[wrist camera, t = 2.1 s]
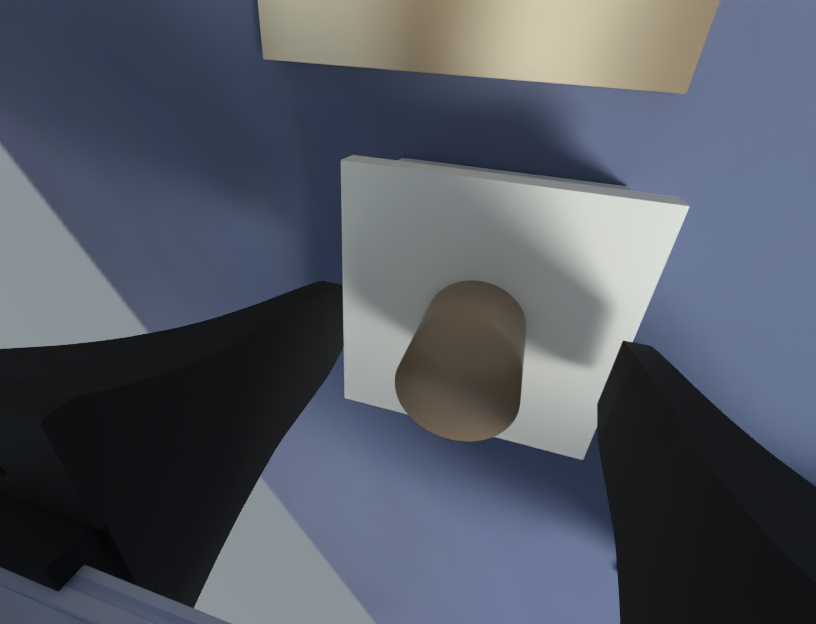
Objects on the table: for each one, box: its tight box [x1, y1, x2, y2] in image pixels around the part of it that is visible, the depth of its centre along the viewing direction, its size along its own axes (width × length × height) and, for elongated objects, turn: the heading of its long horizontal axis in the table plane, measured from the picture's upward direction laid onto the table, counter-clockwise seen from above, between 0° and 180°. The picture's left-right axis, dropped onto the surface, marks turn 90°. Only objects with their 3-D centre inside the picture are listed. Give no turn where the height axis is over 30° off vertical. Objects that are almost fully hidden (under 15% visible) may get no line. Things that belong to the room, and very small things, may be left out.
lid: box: [341, 155, 690, 460], centre depth 11 cm, size 8×8×5 cm
